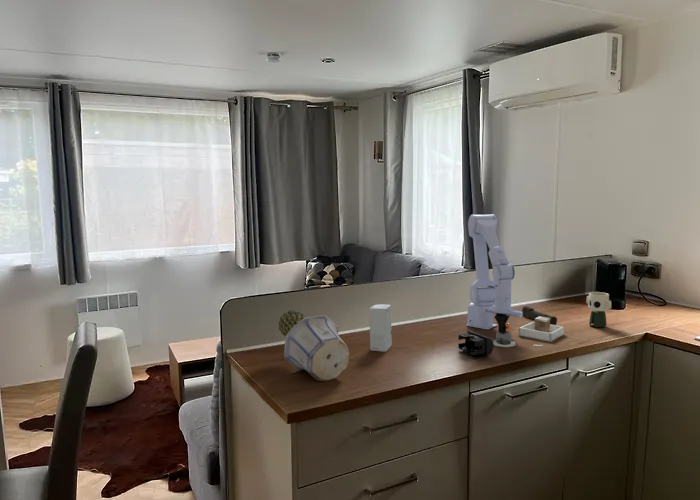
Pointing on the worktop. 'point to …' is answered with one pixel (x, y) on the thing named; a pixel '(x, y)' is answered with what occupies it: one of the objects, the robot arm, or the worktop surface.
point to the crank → (504, 335)
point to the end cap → (475, 345)
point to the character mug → (598, 308)
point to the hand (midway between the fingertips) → (501, 334)
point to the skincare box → (380, 327)
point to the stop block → (542, 324)
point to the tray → (532, 333)
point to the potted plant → (313, 345)
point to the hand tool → (537, 315)
